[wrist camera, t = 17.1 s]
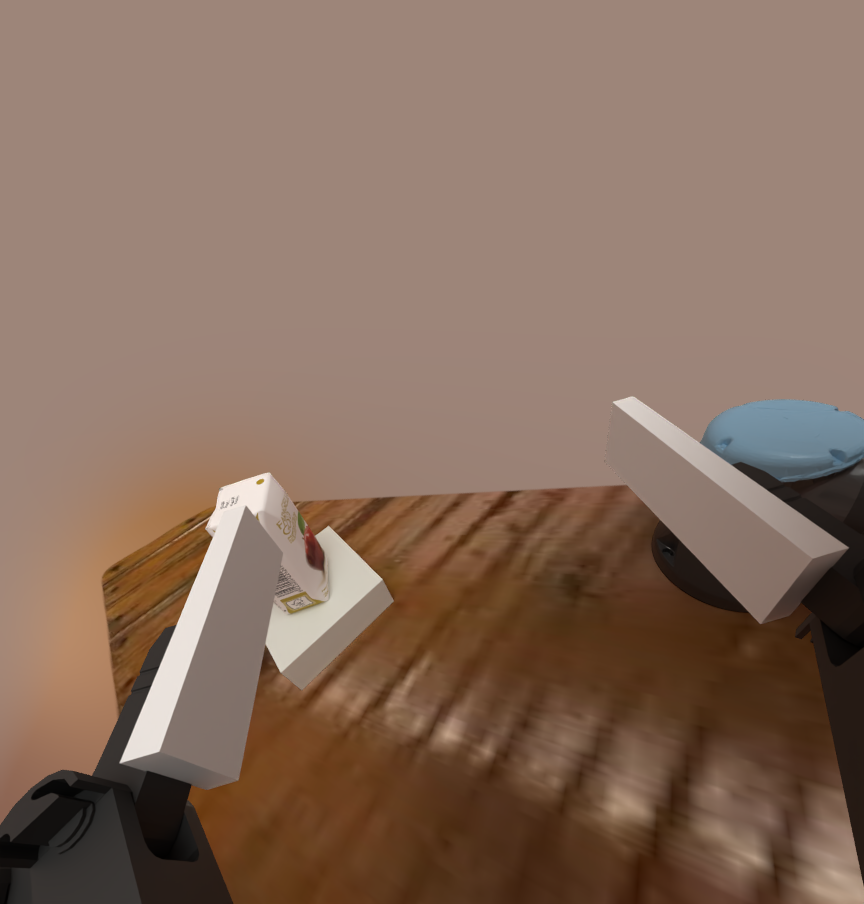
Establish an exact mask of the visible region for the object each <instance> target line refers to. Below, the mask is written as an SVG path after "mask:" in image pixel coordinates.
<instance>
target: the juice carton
mask: <svg viewBox="0 0 864 904" xmlns="http://www.w3.org/2000/svg"><path fill="white" fill-rule="evenodd" d="M244 505H246V506H247V507H248V508H249V510H250V511H251V512H252V514H253V515H254V516H255V517H256V519H257V520H258V521H259V523H260V524H261V525H262V526H263V528H264V529H265V530H266V532H267V533H268V534H269V535H270V537H271V538H272V539H273V541H274V542H275V543H276V544H277V546H278V547H279V548H280V550H281V551H282V552H283V557H282V562H281V567H280V572H279V577H278V582H277V587H276V592H275V597H274V603H275V604H276V605H277V606H278V607H279V608H280V609H281V610H282V611H283V612H284V613H285V614H287V615H288V614H291V613H294V612H297V611H300V610H303V609H305V608H308V607H311V606H314V605H317V604H319V603H322V602H325V601H327V600H329V586H328V559H327V555H326V553H325V551H324V550H323V548H322V547H321V545H320V544H319V542H318V540H317V539H316V537H315V536H314V534H313V533H312V531H311V530H310V528H309V527H308V525H307V524H306V522H305V521H304V519H303V518H302V516H301V514H300V513H299V511H298V510H297V508H296V507H295V505H294V504H293V502H292V501H291V499H290V498H289V496H288V495H287V493H286V492H285V490H284V489H283V488H282V487H281V486H280V484H279V483H278V482H277V481H276V480H275V479H274V477H273V476H272V475H271V474H270V472H269V473H264V474H261V475H258V476H255V477H252V478H249V479H245V480H242V481H239V482H236V483H234V484H231V485H227V486H224V487H222V488H220V489H219V494H218V498H217V505H216V509H215V511H214V512H213V514H212V516H211V518H210V520H209V522H208V524H207V526H206V528H205V529H206V530H207V531H208V532H209V534H210V535H211V536H212V537H213V536H214V534H215V532H216V529H217V527H218V524H219V522H220V520H221V517H222V515H223V512H224V511H226V510H230V509H234V508H237V507H241V506H244Z"/></svg>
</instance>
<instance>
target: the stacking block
mask: <svg viewBox="0 0 864 904" xmlns="http://www.w3.org/2000/svg"><path fill="white" fill-rule="evenodd" d="M315 537H316V539H317V540H318V542H319V544H320V545H321V547H322V548H323V550H324V551H325V553H326V555H327V559H328V586H329V600H327V601H325V602H322V603H319V604H317V605H314V606H311V607H308V608H305V609H303V610H300V611H297V612H294V613H291V614H288V615H287V614H285V613H284V612H283V611H282V610H281V609H280V608H279V607H278V606H277V605H276V604H275V603H273V608H272V613H271V618H270V623H269V628H268V633H267V638H266V645H267V647H268V649H269V651H270V653H271V655H272V657H273V659H274V661H275V663H276V665H277V667H278V668H279V670H280V672H281V673H282V674H283V675H284V676H285V677H286V678H288V679H289V680H290V681H291V682H292V683H294V684H295V685H296V686H297V687H299V688H300V689H301V690H303V689H304V688H305V687H306V686H307V685H308V684H309V683H310V682H311V681H312V680H313V679H314V678H315V677H316V676H317V675H318V674H319V673H320V672H321V671H322V670H323V669H324V668H326V667H327V666H328V665H329V664H330V663H331V662H332V661H333V660H334V659H335V658H336V657H337V656H338V655H339V654H340V653H341V652H342V651H343V650H344V649H345V648H346V647H347V646H348V645H349V644H350V643H351V642H352V641H353V640H354V639H355V638H356V637H357V636H358V635H360V634H361V633H362V632H363V631H364V630H365V629H366V628H367V627H368V626H369V625H370V624H371V623H372V622H373V621H374V620H375V619H376V618H377V617H378V616H379V615H380V614H381V613H382V612H383V611H384V610H385V609H386V608H387V607H388V606H389V605H390V604H391V603H392V602H394V600H393V598H392V596H391V595H390V593H389V591H388V589H387V587H386V585H385V583H384V581H383V580H382V579H381V578H380V577H379V576H378V575H377V574H376V573H375V572H374V571H373V570H372V569H371V568H370V567H369V566H368V565H367V564H366V563H365V562H364V561H363V560H362V559H361V558H360V557H359V556H358V555H357V554H356V553H355V552H354V551H353V550H352V549H351V548H350V547H349V546H348V545H347V544H346V543H345V542H344V541H343V540H342V539H341V538H340V537H339V536H338V535H337V534H336V533H335V532H334V531H333V530H332V529H331V528H330V527H329V526H328V527H326V528H325V529H324V530H323V531H321V532H320V533H319V534H317V535H316V536H315Z"/></svg>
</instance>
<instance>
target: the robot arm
mask: <svg viewBox="0 0 864 904" xmlns="http://www.w3.org/2000/svg"><path fill="white" fill-rule="evenodd" d="M605 462H606V464H607V465H608V466H609V467H611V469H612V470H613V471H614V472H615V473H616V474H617V475H618V476H619V477H620V478H621V479H622V480H623V481H624V482H625V483H626V484H627V486H628V487H629V488H630V489H631V490H632V491H633V492H634V493H635V494H636V495H637V496H638V497H639V498H640V499H641V500H642V501H643V502H644V503H645V504H646V505H647V506H648V507H649V508H650V509H651V511H652V512H653V513H654V514H655V515H656V516H657V517H658V518H659V519H660V522H659V523H658V525H657V527H656V529H655V532H654V536H653V539H652V552H653V555H654V558H655V560H656V562H657V564H658V566H659V567H660V569H661V570H662V572H663V573H664V574H665V575H666V576H667V577H668V578H669V579H670V580H671V581H672V582H673V583H674V584H675V585H676V586H678V587H679V588H680V589H681V590H683V591H684V592H686V593H688V594H689V595H691V596H693V597H694V598H696V599H698V600H700V601H702V602H705V603H707V604H710V605H712V606H715V607H719V608H722V609H726V610H731V611H738V612H749V613H750V614H751V615H752V616H753V617H754V618H755V619H756V620H757V621H758V622H759V623H760V624H763V623H767V622H770V621H773V620H777V619H780V618H783V617H787V616H790V615H791V614H792V613H793V611H794V610H795V609H796V608H797V607H798V606H799V605H800V603H802V604H804V605H805V606H806V607H807V608H808V609H809V610H810V611H811V612H812V613H811V614H810V615H809V616H808V617H807V618H806V619H805V621H804V622H803V623H802V624H801V625H800V626H799V627H798V628H797V629H796V635H795V637H796V638H799V639H802V638H803V637H804V636H805V635H806V634H807V633H808V632H809V631H810V630H811V634H812V639H811V642H812V643H814V648H815V653H816V658H817V663H818V668H819V672H820V677H821V682H822V687H823V692H824V697H825V701H826V706H827V711H828V716H829V721H830V725H831V730H832V735H833V740H834V745H835V750H836V754H837V759H838V764H839V769H840V774H841V779H842V783H843V788H844V793H845V798H846V803H847V808H848V812H849V817H850V822H851V827H852V832H853V837H854V841H855V846H856V851H857V856H858V861H859V865H860V870H861V875H862V880H863V885H864V419H862V418H861V417H859V416H857V415H855V414H854V413H851V412H849V411H845V412H840V411H838V408H837V407H835V406H832V405H828V404H823V403H818V402H812V401H803V400H785V399H781V400H765V401H757V402H751V403H746V404H744V405H742V406H737V407H733V408H730V409H728V410H726V411H724V412H722V413H721V414H719V415H718V416H716V417H715V418H714V419H713V420H712V421H711V422H710V424H709V425H708V427H707V429H706V431H705V433H704V435H703V438H702V440H701V442H700V443H699V442H698V441H696V440H695V439H693V438H692V437H690V436H689V435H688V434H686V433H685V432H683V431H682V430H680V429H679V428H678V427H676V426H675V425H673V424H672V423H671V422H669V421H668V420H666V419H665V418H663V417H662V416H661V415H659V414H658V413H656V412H655V411H653V410H652V409H651V408H649V407H648V406H646V405H645V404H644V403H642V402H641V401H639V400H638V399H636V398H635V397H633V396H632V397H629V398H625V399H622V400H618V401H615V402H612V409H611V416H610V424H609V432H608V439H607V447H606V454H605ZM282 557H283V552H282V551H281V550H280V548H279V547H278V546H277V544H276V543H275V542H274V541H273V539H272V538H271V537H270V535H269V534H268V533H267V532H266V530H265V529H264V528H263V526H262V525H261V524H260V523H259V521H258V520H257V519H256V517H255V516H254V515H253V514H252V512H251V511H250V510H249V508H248V507H247V506H246V505H244V506H241V507H237V508H234V509H230V510H226V511H224V512H223V515H222V517H221V520H220V522H219V524H218V527H217V529H216V532H215V534H214V536H213V539H212V541H211V544H210V546H209V549H208V551H207V553H206V556H205V558H204V561H203V563H202V565H201V568H200V570H199V573H198V575H197V577H196V580H195V582H194V585H193V587H192V590H191V592H190V594H189V597H188V599H187V602H186V604H185V606H184V609H183V611H182V614H181V616H180V619H179V621H178V623H177V625H175V626H171V627H168V628H165V630H164V631H163V632H162V634H161V635H160V636H159V638H158V639H157V640H156V642H155V643H154V644H153V646H152V647H151V648H150V650H149V652H148V654H147V656H146V659H145V661H144V663H143V665H142V668H141V670H140V676H138V677H137V679H136V681H135V683H134V685H133V687H132V690H131V692H132V694H131V695H130V696H128V699H127V701H126V703H125V705H124V707H123V710H122V712H121V714H120V716H119V718H118V721H117V723H116V725H115V727H114V730H113V732H112V734H111V736H110V738H109V741H108V743H107V745H106V747H105V749H104V752H103V754H102V757H101V758H100V760H99V763H98V765H97V767H96V769H95V771H94V773H93V775H92V776H90V775H87V774H83V773H79V772H75V771H69V770H61V771H58V772H56V773H54V774H51V775H48V776H47V777H45V778H44V779H43V780H41V781H40V782H39V783H38V784H36V785H35V786H33V787H32V788H31V789H30V790H29V791H28V792H27V793H26V794H25V795H24V796H23V797H22V798H21V799H20V800H19V801H18V802H17V803H16V804H15V806H14V807H13V808H12V809H11V811H10V812H9V814H8V815H7V816H6V818H5V819H4V821H3V822H2V823H1V825H0V904H233V902H232V899H231V897H230V894H229V892H228V889H227V887H226V884H225V882H224V880H223V877H222V875H221V872H220V870H219V867H218V865H217V862H216V860H215V857H214V855H213V852H212V850H211V847H210V845H209V843H208V840H207V838H206V835H205V833H204V830H203V828H202V825H201V823H200V820H199V818H198V815H197V813H196V810H195V808H194V806H193V805H192V804H191V803H190V802H189V801H188V800H187V799H188V795H189V792H190V788H191V785H193V786H196V787H199V788H203V789H206V790H208V789H211V788H214V787H218V786H221V785H224V784H228V783H231V782H234V781H238V780H239V775H240V770H241V765H242V759H243V754H244V749H245V744H246V739H247V734H248V729H249V724H250V719H251V714H252V709H253V704H254V699H255V694H256V689H257V684H258V678H259V673H260V668H261V663H262V658H263V653H264V648H265V643H266V638H267V633H268V628H269V623H270V618H271V613H272V608H273V603H274V597H275V592H276V587H277V582H278V577H279V572H280V567H281V562H282Z"/></svg>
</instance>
